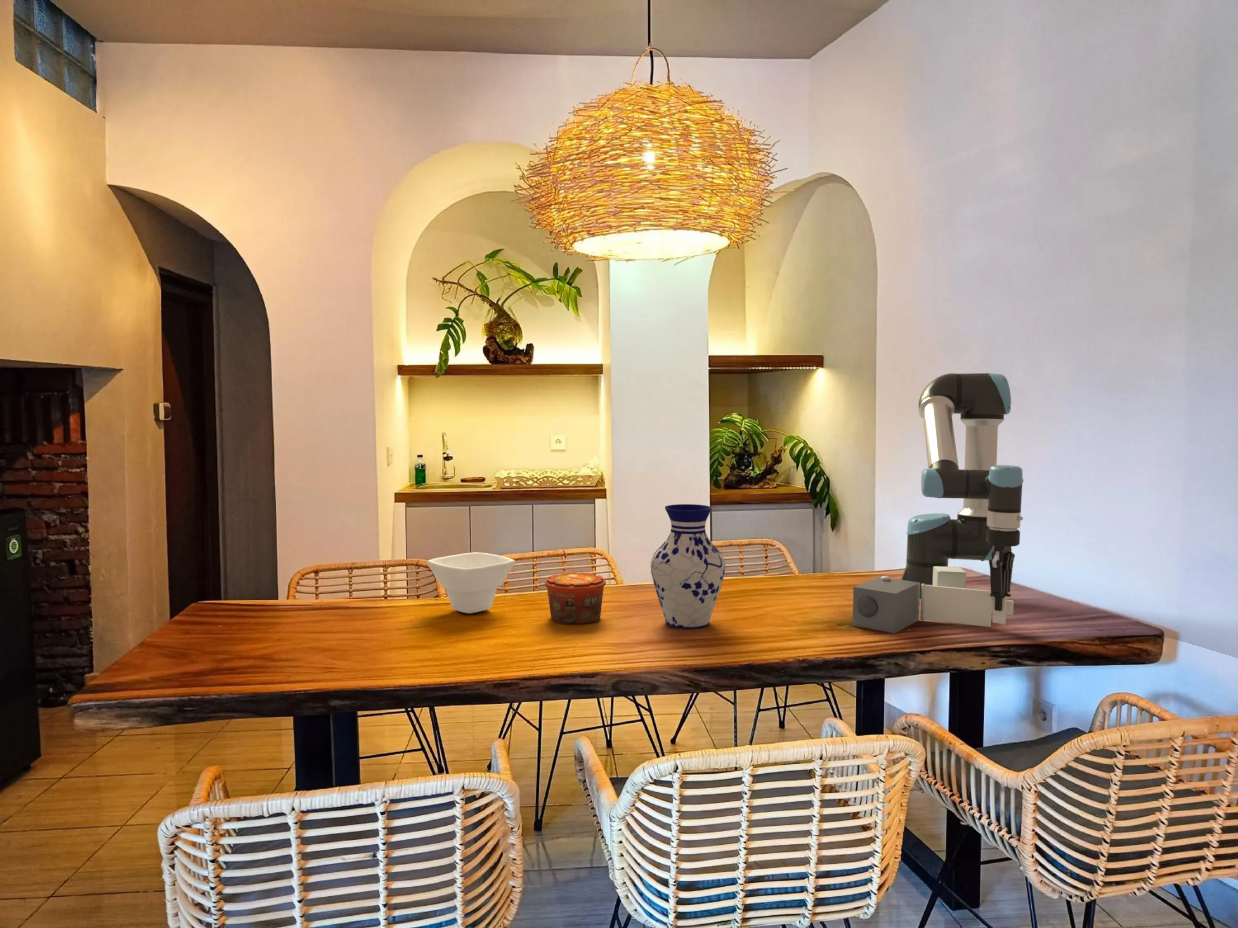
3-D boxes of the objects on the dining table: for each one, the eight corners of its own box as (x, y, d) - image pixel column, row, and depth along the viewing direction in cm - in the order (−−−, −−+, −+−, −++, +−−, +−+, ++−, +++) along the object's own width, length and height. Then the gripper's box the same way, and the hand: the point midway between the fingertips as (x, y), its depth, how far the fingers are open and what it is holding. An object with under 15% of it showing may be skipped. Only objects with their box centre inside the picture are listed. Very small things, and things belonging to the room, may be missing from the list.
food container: (534, 623, 220) (534, 581, 219) (560, 608, 235) (560, 569, 234) (592, 629, 214) (592, 587, 213) (614, 613, 229) (614, 574, 228)
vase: (731, 617, 226) (733, 504, 223) (715, 637, 208) (717, 514, 205) (661, 611, 232) (662, 501, 229) (640, 629, 214) (641, 510, 211)
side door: (920, 620, 223) (921, 584, 222) (920, 619, 224) (921, 583, 223) (1012, 630, 214) (1014, 592, 213) (1012, 629, 215) (1014, 591, 214)
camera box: (878, 613, 231) (879, 573, 230) (918, 620, 224) (920, 579, 223) (851, 626, 218) (852, 584, 217) (893, 634, 211) (894, 590, 210)
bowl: (521, 610, 232) (521, 559, 231) (463, 624, 218) (462, 570, 216) (478, 599, 244) (478, 550, 243) (421, 611, 230) (420, 560, 229)
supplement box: (965, 619, 224) (967, 572, 223) (935, 618, 226) (937, 570, 225) (959, 612, 232) (961, 566, 231) (931, 611, 233) (932, 565, 232)
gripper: (1011, 533, 203) (1007, 630, 205) (1027, 527, 213) (1022, 620, 215) (978, 529, 208) (974, 625, 210) (995, 523, 218) (991, 615, 220)
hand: (999, 622), depth 213 cm, fingers closed
